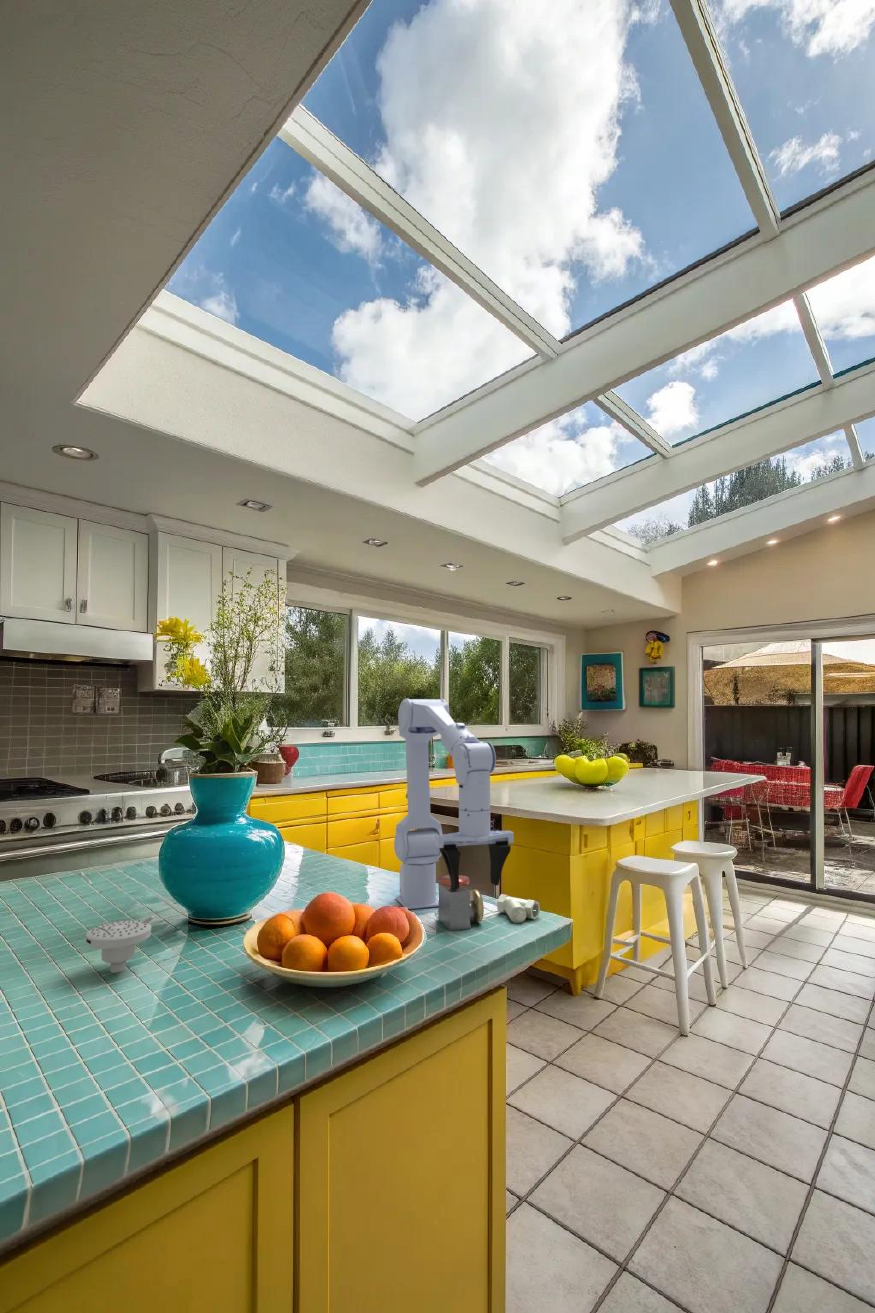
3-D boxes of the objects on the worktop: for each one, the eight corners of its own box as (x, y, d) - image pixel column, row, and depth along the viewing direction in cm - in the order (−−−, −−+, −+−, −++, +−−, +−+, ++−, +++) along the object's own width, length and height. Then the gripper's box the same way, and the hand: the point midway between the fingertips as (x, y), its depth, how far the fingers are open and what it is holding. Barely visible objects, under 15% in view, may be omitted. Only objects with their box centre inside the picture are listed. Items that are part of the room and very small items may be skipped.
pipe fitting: (523, 929, 127) (540, 917, 132) (522, 908, 127) (539, 898, 132) (488, 921, 132) (506, 910, 137) (487, 901, 132) (505, 891, 137)
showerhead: (165, 922, 107) (100, 937, 100) (163, 968, 106) (98, 987, 99) (140, 910, 113) (77, 924, 106) (138, 954, 113) (75, 971, 105)
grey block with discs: (433, 920, 130) (433, 875, 131) (471, 916, 133) (471, 872, 134) (445, 931, 124) (445, 884, 125) (484, 926, 126) (484, 880, 127)
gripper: (443, 814, 114) (443, 895, 113) (520, 810, 118) (521, 888, 117) (431, 808, 120) (431, 885, 119) (504, 805, 125) (505, 878, 124)
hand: (475, 886), depth 119 cm, fingers open, 7 cm apart
